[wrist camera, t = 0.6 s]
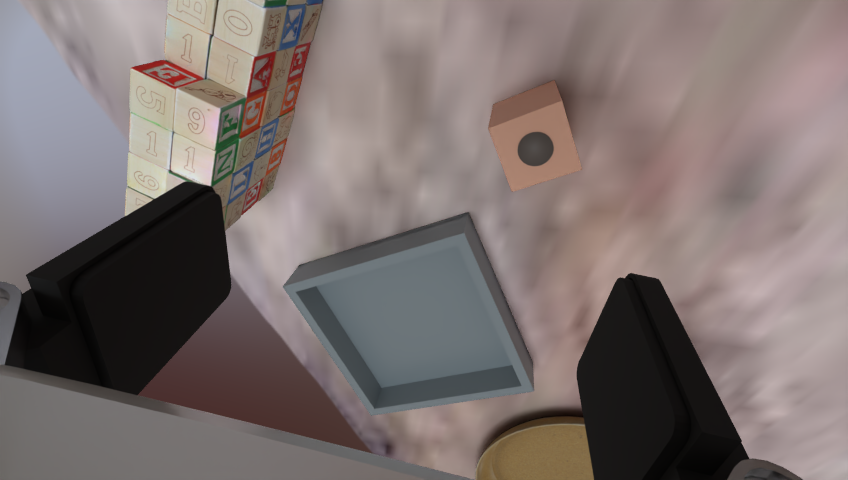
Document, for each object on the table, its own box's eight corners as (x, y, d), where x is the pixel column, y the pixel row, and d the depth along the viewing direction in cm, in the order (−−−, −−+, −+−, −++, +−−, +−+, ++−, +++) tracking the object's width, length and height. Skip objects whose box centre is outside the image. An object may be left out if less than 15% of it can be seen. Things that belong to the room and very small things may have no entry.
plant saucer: (616, 377, 48) (623, 402, 45) (702, 498, 56) (712, 525, 53) (442, 433, 59) (438, 456, 56) (534, 528, 66) (535, 552, 63)
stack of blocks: (258, -80, 32) (134, -110, 22) (335, -40, 33) (250, -51, 22) (216, 163, 43) (121, 220, 33) (273, 191, 44) (198, 255, 33)
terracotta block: (554, 79, 34) (562, 100, 28) (571, 138, 36) (582, 170, 30) (493, 104, 36) (488, 128, 30) (512, 159, 38) (511, 192, 32)
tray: (468, 212, 41) (463, 232, 38) (532, 362, 49) (534, 391, 46) (299, 265, 48) (282, 286, 45) (379, 389, 56) (371, 415, 53)
